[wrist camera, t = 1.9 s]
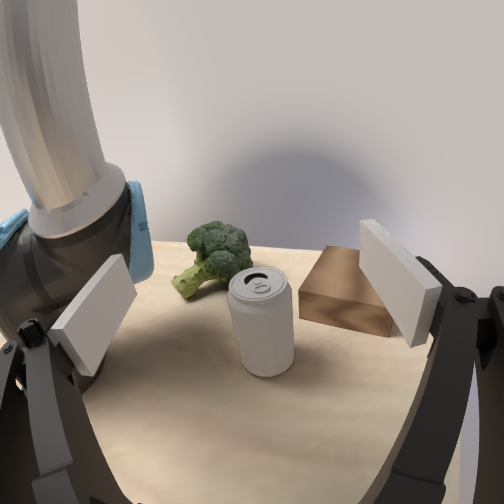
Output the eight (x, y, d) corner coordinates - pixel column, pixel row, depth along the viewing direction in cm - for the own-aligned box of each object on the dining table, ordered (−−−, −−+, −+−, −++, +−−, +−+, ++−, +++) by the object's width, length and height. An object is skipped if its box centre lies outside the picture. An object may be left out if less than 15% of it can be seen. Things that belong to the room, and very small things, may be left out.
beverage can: (283, 335, 36) (276, 257, 30) (303, 369, 30) (302, 289, 24) (237, 349, 34) (218, 273, 29) (251, 387, 29) (233, 310, 23)
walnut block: (299, 318, 38) (298, 290, 36) (326, 270, 48) (326, 245, 45) (388, 337, 32) (395, 308, 29) (397, 282, 41) (402, 256, 39)
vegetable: (169, 265, 52) (228, 215, 53) (209, 318, 50) (271, 267, 51) (142, 259, 40) (217, 196, 41) (191, 328, 38) (272, 262, 39)
